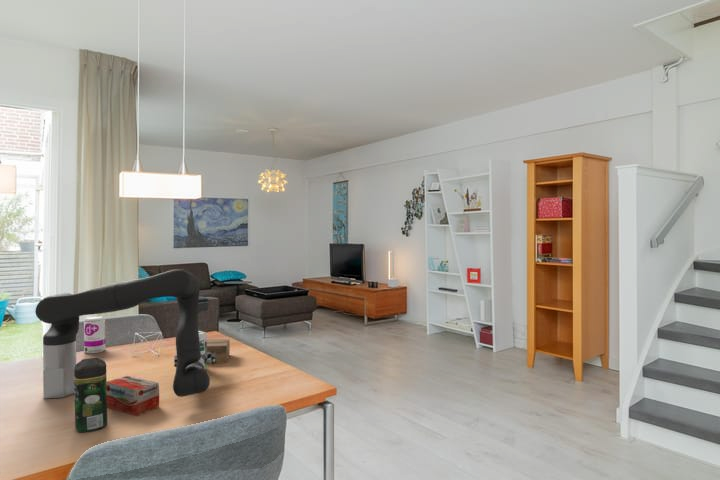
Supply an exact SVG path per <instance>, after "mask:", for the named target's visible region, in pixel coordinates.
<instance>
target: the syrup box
mask: <svg viewBox="0 0 720 480" xmlns="http://www.w3.org/2000/svg"><path fill="white" fill-rule="evenodd" d="M198 331H199V342H200V352H201V354H203V353H207V340H208V334H207V333H208V332H206V331H203V330H198ZM207 369H208V363H206V369H205V370H207Z"/></svg>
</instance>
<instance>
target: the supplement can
mask: <svg viewBox="0 0 720 480" xmlns="http://www.w3.org/2000/svg"><path fill="white" fill-rule="evenodd" d="M83 346H84V347H83V351H84V352H85V353H86V354H98V353H102V352H104V351H105V350H106V320H105V318H104V316H102V315H101V316H100V315H97V316H94V315H93V316H88V317H86V318H85V319H84V321H83Z"/></svg>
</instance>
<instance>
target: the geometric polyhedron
mask: <svg viewBox="0 0 720 480" xmlns="http://www.w3.org/2000/svg"><path fill="white" fill-rule="evenodd" d="M149 333H153V334H150V335H145V336H142V335H141V334H140V333H138V332H135V333H134V336H137V337H138V338H139V339H140V342H139V344H138V346H137V347H136V349H135V348H134V347H135V344H133V347H132V350H134V349H135V350H134V351H132V353H131V357H132V358H137V357H141V355H142V354H145V353H147V352H149V351H150V352H152V353H154V354H155V355H154V354H152V355H149V357H150V356H151V357H157V356H160V349H161V347H159V350H158V352H157V351H156V350H155V349H154V346H155V344H156V342H157V341H158V339H159V337H161V336H162V334H163V332H162V331H158V332H157V331H149V332H147V331H146V332H142V334H149ZM157 334H158V337H157V338H156V340H155V341H154V343H153V345H151V343H149V341H148V340H147V339H146V338H148V337H151V336H154V335H157ZM141 338H142V339H141ZM133 339H134V340H133V343H135V340H136V337H134V338H133ZM143 340H145V341H146V342H147V343H148V344H149V346H150V347H151V348H149V347H148V346H147V344H146V343H145V342H144V341H143ZM141 343H143V344H144V345H145V346H146V348H147V349H148V350H146V351H143V352H140V353H139V354H136V352H137V350H138V349H139V347H140V345H141ZM161 343H162V338H160V341H159V345H161ZM152 349H153V350H154V351H155V352H154V351H153V350H152Z"/></svg>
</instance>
